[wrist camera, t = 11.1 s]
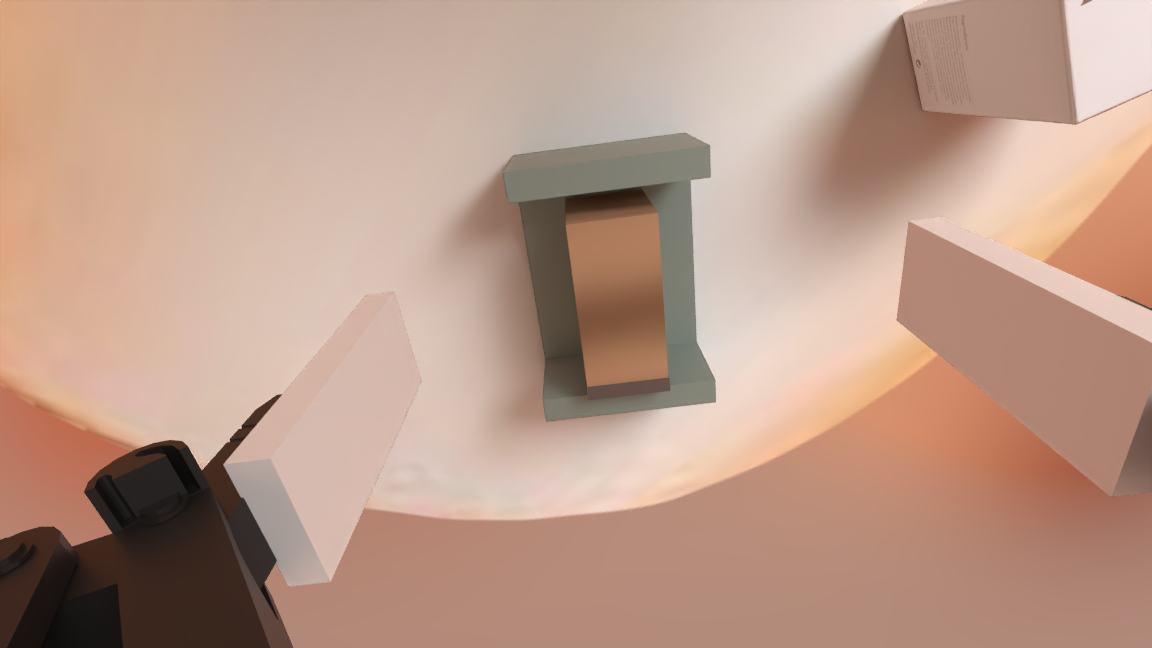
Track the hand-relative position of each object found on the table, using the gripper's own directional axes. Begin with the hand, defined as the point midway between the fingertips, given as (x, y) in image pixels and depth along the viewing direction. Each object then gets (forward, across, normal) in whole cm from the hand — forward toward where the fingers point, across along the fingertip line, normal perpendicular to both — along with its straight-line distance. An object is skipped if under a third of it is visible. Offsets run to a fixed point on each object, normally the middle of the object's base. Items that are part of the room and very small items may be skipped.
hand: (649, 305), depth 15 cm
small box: (+21, +21, +4) cm, 30 cm away
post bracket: (+20, 0, -6) cm, 21 cm away
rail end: (+19, 0, -6) cm, 20 cm away
